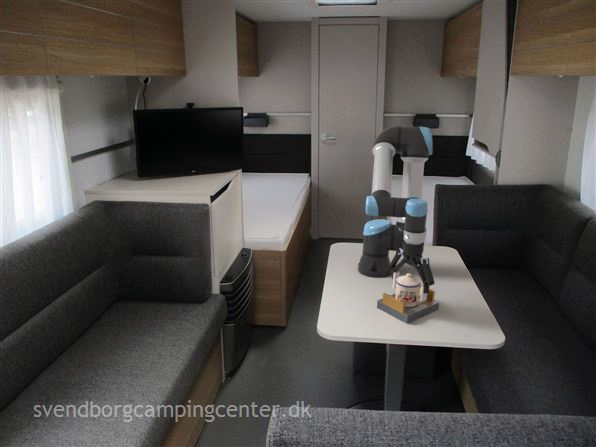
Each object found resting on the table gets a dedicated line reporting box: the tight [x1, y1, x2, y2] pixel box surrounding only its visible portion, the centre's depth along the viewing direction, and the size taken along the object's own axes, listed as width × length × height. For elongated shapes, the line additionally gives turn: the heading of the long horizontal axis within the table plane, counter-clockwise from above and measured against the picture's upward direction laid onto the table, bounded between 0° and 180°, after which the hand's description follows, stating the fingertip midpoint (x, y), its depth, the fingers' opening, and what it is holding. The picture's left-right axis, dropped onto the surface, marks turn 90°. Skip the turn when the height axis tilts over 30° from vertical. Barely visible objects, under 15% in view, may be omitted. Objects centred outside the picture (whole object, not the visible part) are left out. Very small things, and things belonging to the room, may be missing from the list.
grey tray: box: [376, 284, 440, 324], centre depth 192 cm, size 15×18×7 cm
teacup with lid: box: [395, 273, 428, 307], centre depth 190 cm, size 12×9×12 cm
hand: (408, 293), depth 191 cm, fingers open, 13 cm apart
